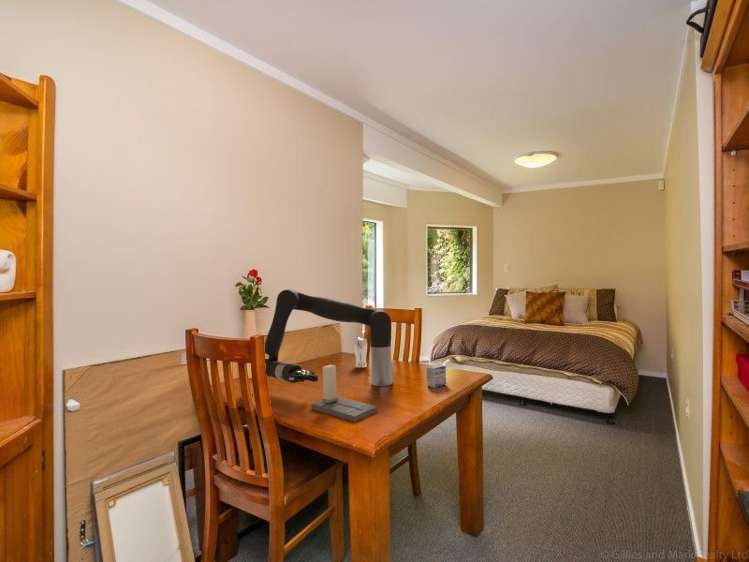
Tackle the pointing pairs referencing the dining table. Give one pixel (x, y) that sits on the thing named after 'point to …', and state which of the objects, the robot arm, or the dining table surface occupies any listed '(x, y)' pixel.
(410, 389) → the dining table surface
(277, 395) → the dining table surface
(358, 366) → the beer glass
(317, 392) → the dining table surface
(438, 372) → the medicine box
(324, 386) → the beige tall block
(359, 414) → the fader board
